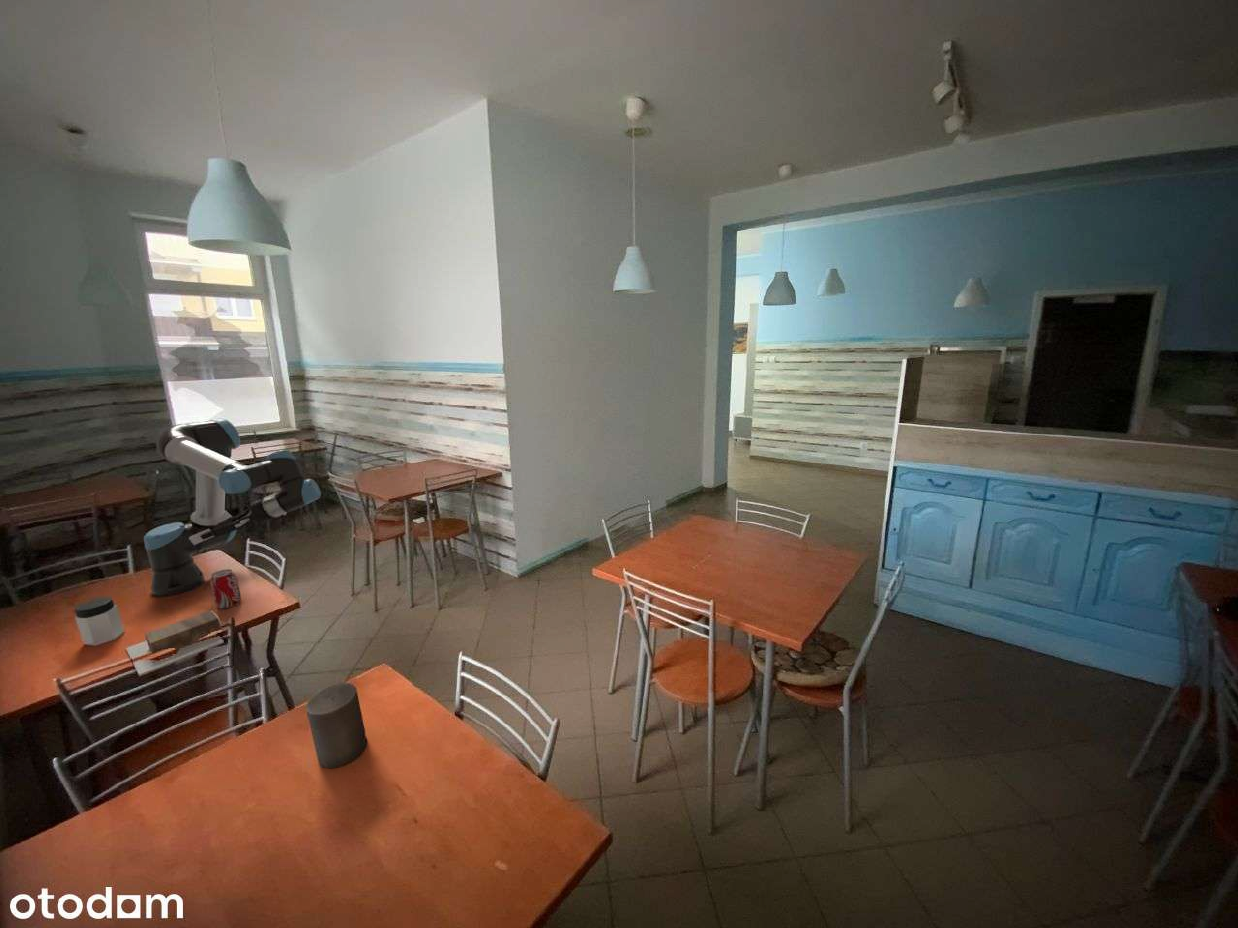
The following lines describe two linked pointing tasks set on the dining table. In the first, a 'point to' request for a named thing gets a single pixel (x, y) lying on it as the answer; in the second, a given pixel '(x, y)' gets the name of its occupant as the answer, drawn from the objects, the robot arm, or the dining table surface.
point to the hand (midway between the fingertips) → (192, 540)
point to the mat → (183, 653)
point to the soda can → (225, 588)
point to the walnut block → (183, 632)
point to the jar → (98, 621)
